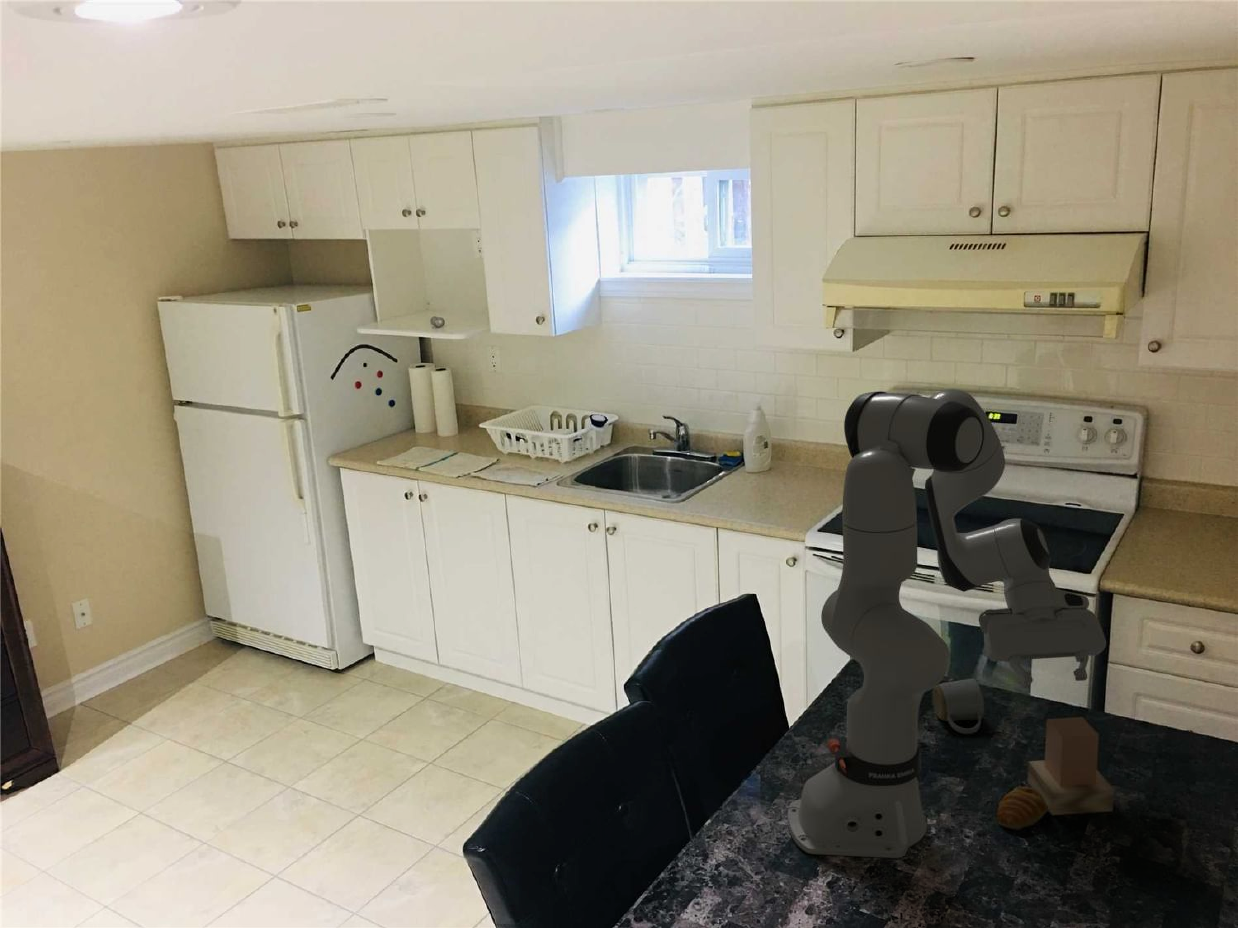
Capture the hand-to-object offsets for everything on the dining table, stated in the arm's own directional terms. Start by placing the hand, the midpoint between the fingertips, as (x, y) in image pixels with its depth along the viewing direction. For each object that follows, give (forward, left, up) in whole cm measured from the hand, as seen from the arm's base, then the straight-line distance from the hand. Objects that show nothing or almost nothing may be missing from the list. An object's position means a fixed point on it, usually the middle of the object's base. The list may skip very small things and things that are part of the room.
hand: (1054, 681), depth 179 cm
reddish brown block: (0, -7, -14) cm, 16 cm away
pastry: (-10, -12, -18) cm, 24 cm away
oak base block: (0, -7, -18) cm, 19 cm away
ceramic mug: (-9, +20, -18) cm, 28 cm away
